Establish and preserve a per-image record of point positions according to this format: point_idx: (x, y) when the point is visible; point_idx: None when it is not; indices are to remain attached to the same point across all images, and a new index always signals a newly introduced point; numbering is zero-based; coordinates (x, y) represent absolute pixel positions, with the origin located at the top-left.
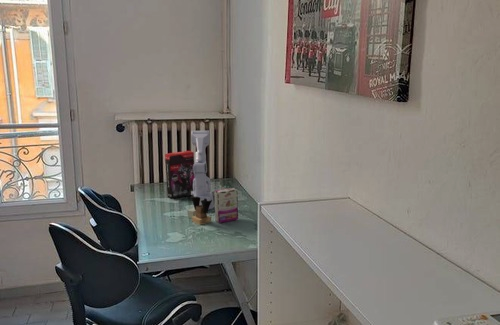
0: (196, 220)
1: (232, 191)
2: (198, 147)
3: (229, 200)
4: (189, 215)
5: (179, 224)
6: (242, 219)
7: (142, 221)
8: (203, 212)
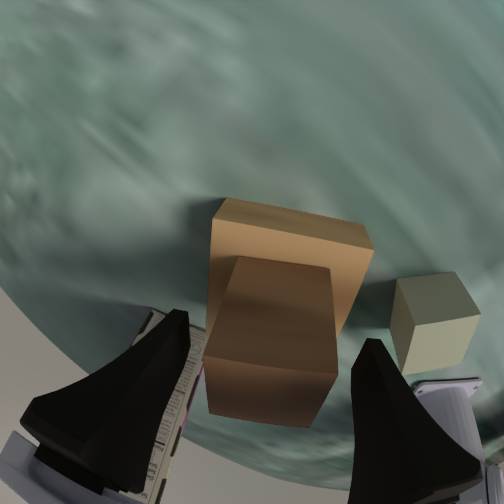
0: (279, 220)
1: None
2: None
3: None
4: (444, 286)
5: (399, 81)
6: None
7: None
8: (183, 317)
